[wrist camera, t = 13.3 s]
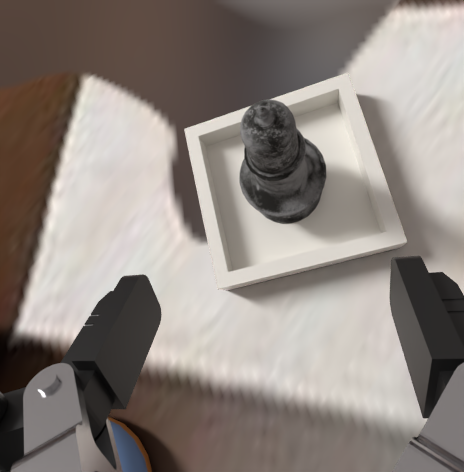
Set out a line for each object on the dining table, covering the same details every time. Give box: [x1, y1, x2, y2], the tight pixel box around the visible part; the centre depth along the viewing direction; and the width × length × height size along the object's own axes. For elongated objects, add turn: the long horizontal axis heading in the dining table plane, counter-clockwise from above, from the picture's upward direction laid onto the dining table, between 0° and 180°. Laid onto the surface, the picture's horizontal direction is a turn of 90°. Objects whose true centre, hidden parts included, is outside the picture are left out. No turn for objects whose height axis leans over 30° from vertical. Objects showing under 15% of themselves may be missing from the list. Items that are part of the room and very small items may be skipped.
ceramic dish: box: [184, 73, 407, 291], centre depth 27 cm, size 13×13×2 cm
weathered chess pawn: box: [239, 100, 326, 224], centre depth 22 cm, size 6×6×12 cm
